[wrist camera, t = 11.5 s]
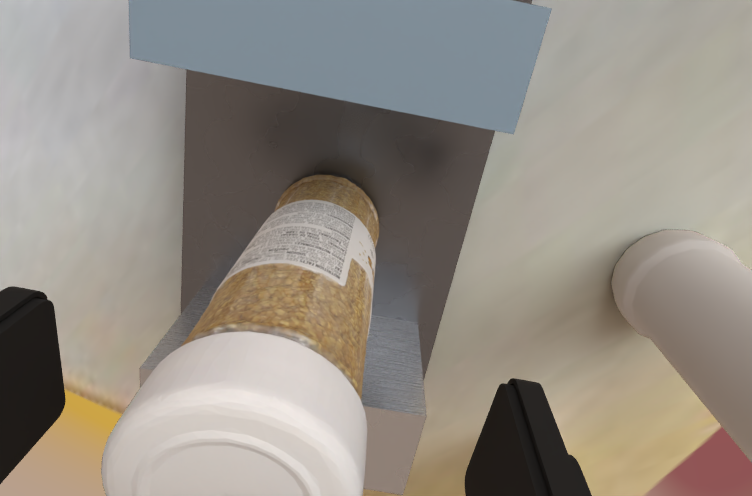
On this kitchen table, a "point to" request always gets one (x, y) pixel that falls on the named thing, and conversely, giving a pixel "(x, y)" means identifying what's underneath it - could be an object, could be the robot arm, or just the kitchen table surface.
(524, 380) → the robot arm
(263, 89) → the clamp base
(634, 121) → the kitchen table surface
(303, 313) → the spice jar
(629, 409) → the kitchen table surface
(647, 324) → the bottle
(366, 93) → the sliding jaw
